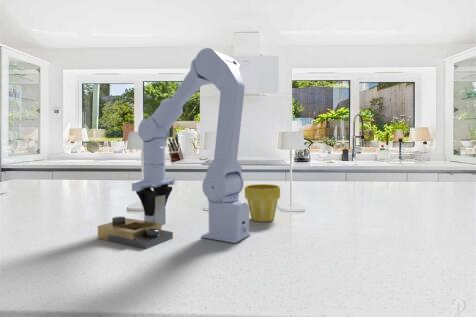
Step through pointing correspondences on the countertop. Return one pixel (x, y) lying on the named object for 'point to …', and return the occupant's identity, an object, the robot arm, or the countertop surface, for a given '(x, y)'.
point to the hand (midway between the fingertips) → (154, 213)
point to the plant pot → (262, 201)
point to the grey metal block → (157, 211)
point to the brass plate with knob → (133, 232)
